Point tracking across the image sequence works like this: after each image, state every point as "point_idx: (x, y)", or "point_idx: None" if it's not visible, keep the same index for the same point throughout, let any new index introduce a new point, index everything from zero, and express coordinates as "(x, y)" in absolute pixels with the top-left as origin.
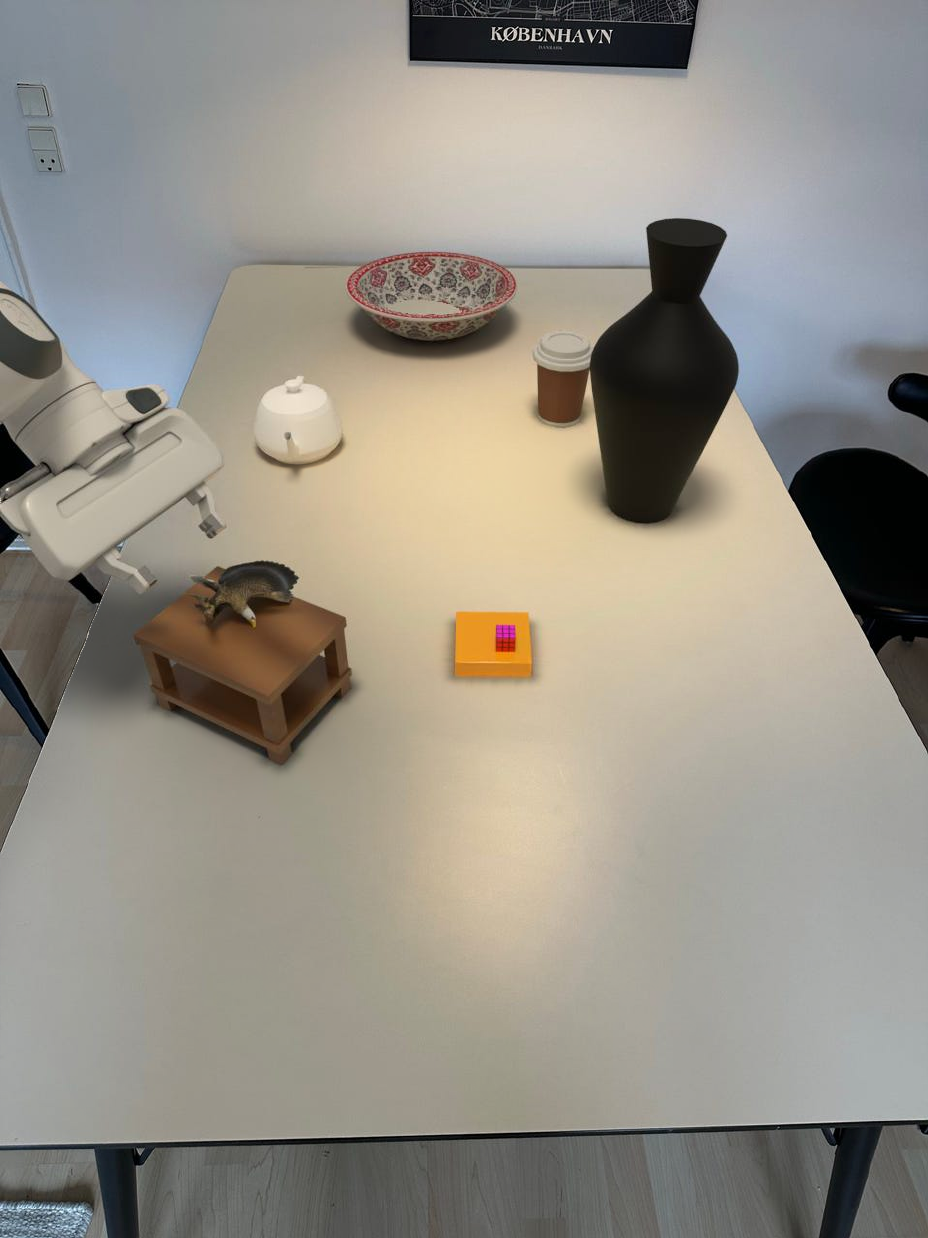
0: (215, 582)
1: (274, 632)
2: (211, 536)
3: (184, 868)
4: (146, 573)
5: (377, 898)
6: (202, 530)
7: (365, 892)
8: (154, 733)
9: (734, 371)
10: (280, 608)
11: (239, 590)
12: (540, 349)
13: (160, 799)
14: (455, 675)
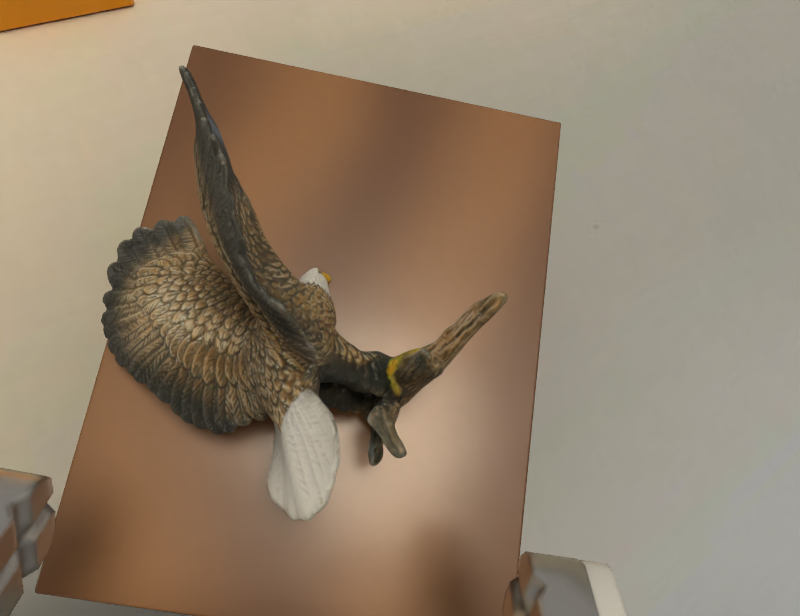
0: (304, 386)
1: (328, 211)
2: (50, 521)
3: (737, 297)
4: (565, 600)
5: (641, 3)
6: (20, 593)
7: (640, 21)
8: None
9: None
10: None
11: (286, 298)
12: None
13: (644, 423)
14: (132, 1)
